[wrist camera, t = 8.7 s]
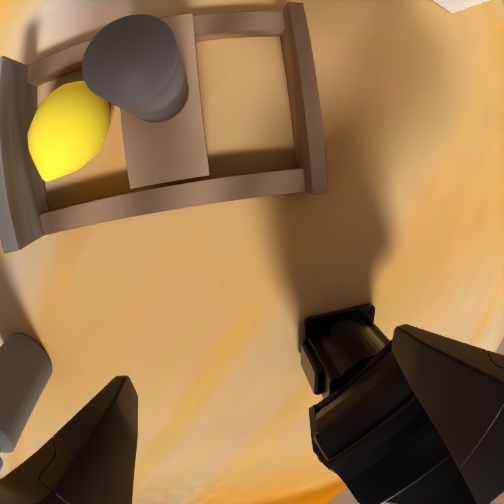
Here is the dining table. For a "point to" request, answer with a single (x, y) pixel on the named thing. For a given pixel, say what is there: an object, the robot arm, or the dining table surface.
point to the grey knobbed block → (152, 94)
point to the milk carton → (458, 4)
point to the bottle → (20, 386)
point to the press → (168, 196)
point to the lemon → (67, 130)
